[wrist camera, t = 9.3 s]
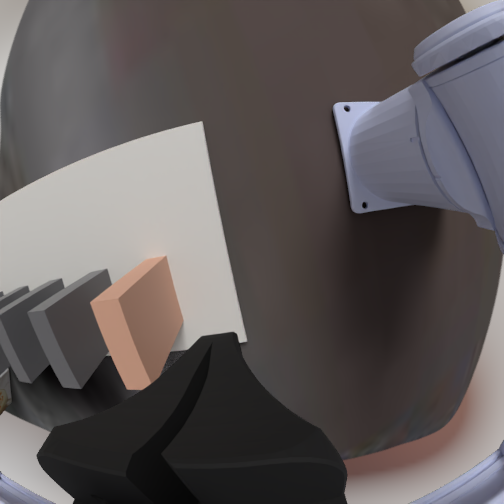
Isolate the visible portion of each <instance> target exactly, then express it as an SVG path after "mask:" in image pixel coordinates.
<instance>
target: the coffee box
mask: <svg viewBox="0 0 504 504" xmlns="http://www.w3.org/2000/svg"><path fill="white" fill-rule="evenodd" d="M11 402H12V398H11V389H10V377H9V369H8V368H7V369H6V370H5V371H4V372H3V373H2V374H1V375H0V415H1V414H2V413H3V411H4V410H5V409H6V408H7V407H8V406H9V404H10V403H11Z"/></svg>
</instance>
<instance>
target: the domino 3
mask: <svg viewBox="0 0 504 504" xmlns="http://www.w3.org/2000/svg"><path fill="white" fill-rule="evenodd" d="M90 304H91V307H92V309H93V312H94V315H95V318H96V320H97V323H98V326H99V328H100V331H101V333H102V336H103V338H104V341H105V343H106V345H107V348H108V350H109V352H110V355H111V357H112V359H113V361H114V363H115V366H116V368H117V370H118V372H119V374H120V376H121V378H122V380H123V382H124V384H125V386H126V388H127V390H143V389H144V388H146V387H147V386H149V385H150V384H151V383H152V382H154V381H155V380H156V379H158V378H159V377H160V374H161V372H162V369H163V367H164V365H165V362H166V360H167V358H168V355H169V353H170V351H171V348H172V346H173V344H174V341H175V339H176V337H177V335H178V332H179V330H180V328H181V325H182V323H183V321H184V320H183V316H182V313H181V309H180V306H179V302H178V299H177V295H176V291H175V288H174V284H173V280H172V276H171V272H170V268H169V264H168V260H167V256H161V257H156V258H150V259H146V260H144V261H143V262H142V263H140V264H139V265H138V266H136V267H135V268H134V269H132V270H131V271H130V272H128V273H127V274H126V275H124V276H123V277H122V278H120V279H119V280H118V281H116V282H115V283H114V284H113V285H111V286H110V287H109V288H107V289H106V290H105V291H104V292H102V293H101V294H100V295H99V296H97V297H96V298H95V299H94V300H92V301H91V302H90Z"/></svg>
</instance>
